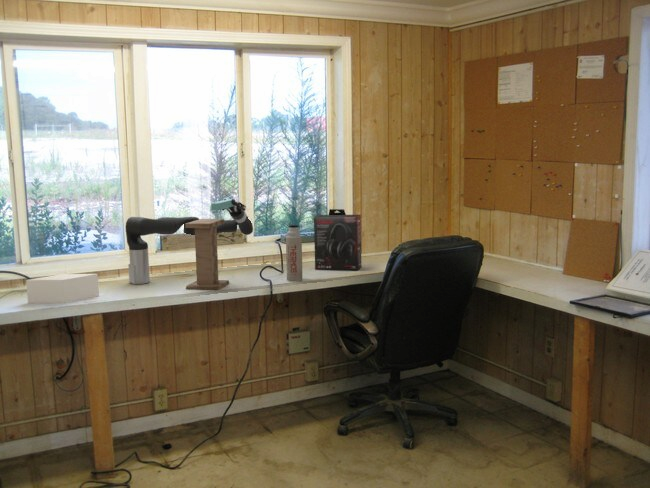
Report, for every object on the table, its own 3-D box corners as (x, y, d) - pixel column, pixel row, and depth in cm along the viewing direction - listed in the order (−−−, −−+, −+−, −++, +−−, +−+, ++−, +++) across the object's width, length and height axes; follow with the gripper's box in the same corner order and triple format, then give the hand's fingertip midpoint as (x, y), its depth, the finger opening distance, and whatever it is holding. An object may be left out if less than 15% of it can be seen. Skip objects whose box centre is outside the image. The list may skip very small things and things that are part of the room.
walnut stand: (200, 281, 332) (197, 218, 327) (230, 282, 329) (228, 219, 324) (184, 290, 313) (181, 223, 308) (216, 291, 310) (213, 223, 305)
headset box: (314, 269, 360) (313, 210, 355) (319, 265, 372) (318, 207, 367) (358, 271, 354) (357, 210, 349) (361, 266, 367) (361, 208, 362)
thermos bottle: (298, 281, 328) (297, 226, 324) (284, 280, 331) (282, 225, 327) (305, 278, 335) (304, 224, 331) (290, 277, 338) (289, 224, 334)
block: (100, 299, 296) (99, 276, 294) (28, 307, 284) (26, 283, 282) (97, 293, 310) (96, 271, 308) (28, 300, 298) (26, 277, 296)
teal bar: (229, 205, 353) (228, 199, 352) (235, 205, 352) (235, 199, 351) (211, 210, 327) (211, 203, 327) (218, 210, 327) (217, 203, 326)
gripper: (249, 220, 360) (240, 207, 344) (224, 219, 362) (214, 206, 347) (251, 207, 362) (242, 194, 346) (226, 207, 365) (216, 194, 349)
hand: (228, 200), depth 347 cm, fingers closed on teal bar, 3 cm apart
